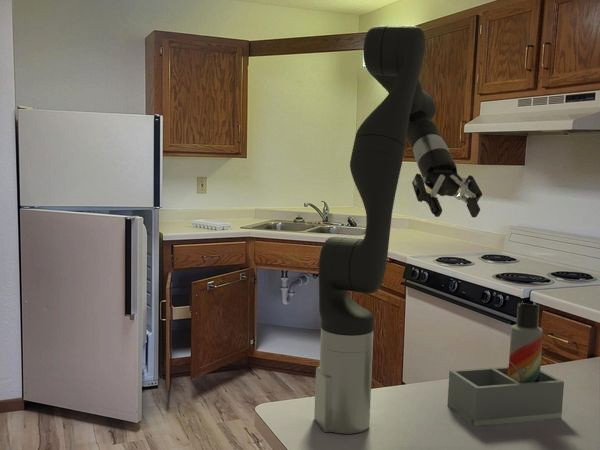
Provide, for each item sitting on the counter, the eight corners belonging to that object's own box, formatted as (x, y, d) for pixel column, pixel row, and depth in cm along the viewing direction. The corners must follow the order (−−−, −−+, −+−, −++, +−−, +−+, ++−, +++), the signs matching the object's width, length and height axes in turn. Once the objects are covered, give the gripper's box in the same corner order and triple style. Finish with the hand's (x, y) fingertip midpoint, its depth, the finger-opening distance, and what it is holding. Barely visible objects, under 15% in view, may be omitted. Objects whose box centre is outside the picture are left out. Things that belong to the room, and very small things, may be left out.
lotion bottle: (503, 405, 113) (510, 303, 111) (509, 396, 118) (515, 298, 116) (535, 412, 110) (542, 307, 108) (539, 402, 115) (546, 301, 113)
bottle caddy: (474, 426, 105) (476, 388, 105) (447, 405, 114) (449, 370, 114) (561, 417, 110) (564, 381, 110) (528, 398, 119) (531, 365, 119)
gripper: (410, 145, 126) (433, 202, 116) (469, 148, 130) (496, 203, 120) (399, 170, 132) (419, 226, 122) (455, 172, 136) (480, 226, 126)
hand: (457, 214), depth 121 cm, fingers open, 8 cm apart
